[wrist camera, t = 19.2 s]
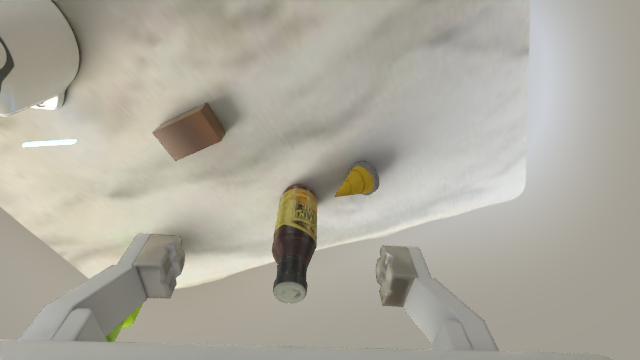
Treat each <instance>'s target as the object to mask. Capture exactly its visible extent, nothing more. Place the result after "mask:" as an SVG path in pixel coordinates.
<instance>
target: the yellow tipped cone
mask: <svg viewBox="0 0 640 360" xmlns="http://www.w3.org/2000/svg"><path fill="white" fill-rule="evenodd" d="M378 187H379V177H378V174H377V172H376V170H375V169H374V168H373V167H372V166H371V165H370V164H368V163H367V162H366V161H364V162H358V163H356V164H354V165H353V166H351V168H350V170H349V175H348V176H347V178H346V179H345V181H344V182H343V184H342V185H341V187H340V188H339V190H338V191H339V192H337V193H336V194H335V197H338V196H346V195H354V194H363V195H370V194H372V193H373V192H375V191H376V190H377V189H378Z"/></svg>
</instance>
